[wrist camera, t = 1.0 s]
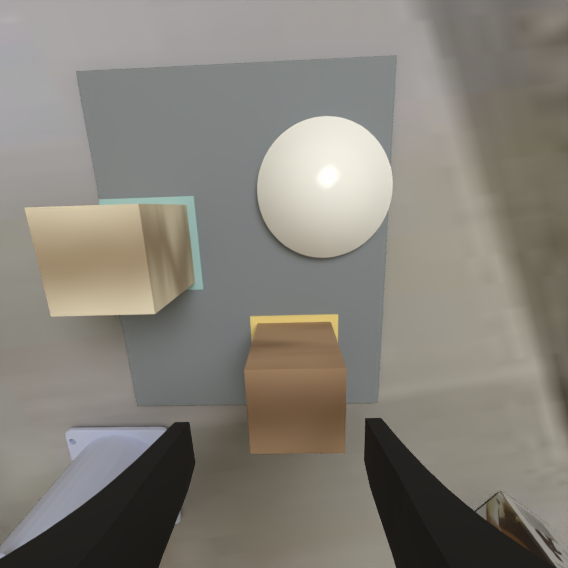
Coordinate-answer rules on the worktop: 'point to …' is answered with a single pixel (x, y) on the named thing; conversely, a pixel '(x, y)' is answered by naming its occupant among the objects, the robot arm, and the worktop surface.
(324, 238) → the white flat disc
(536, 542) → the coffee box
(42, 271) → the beech block
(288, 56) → the worktop surface
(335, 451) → the walnut block
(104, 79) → the grey board
